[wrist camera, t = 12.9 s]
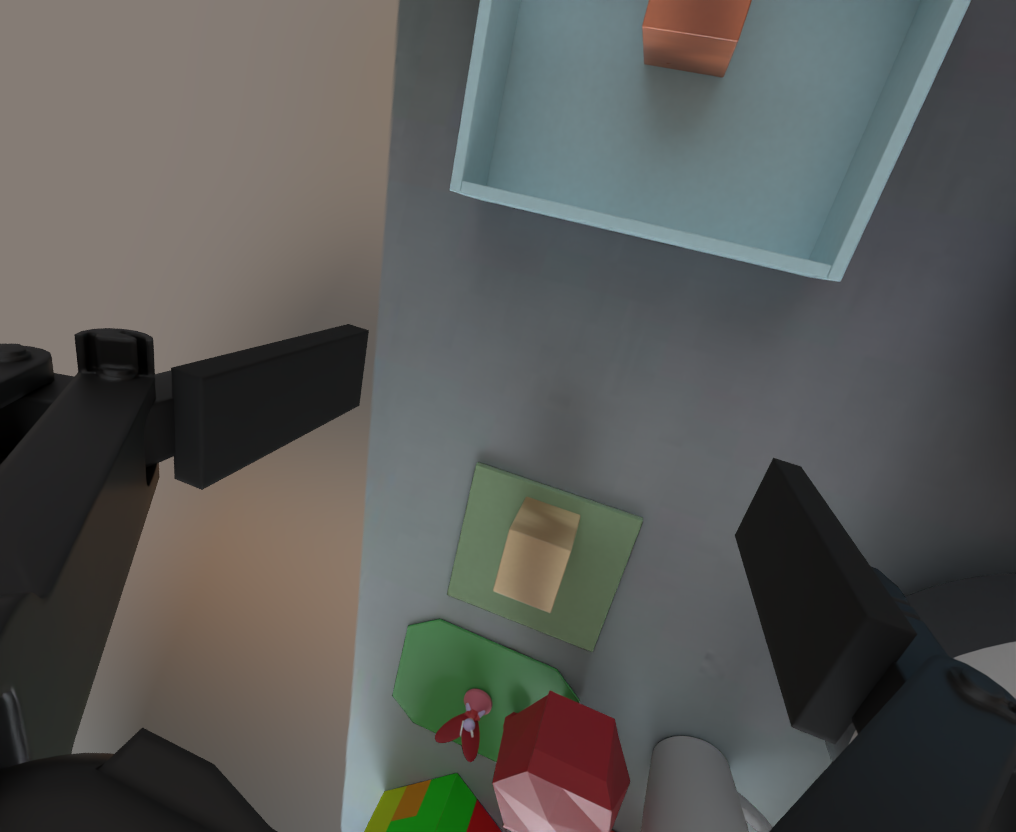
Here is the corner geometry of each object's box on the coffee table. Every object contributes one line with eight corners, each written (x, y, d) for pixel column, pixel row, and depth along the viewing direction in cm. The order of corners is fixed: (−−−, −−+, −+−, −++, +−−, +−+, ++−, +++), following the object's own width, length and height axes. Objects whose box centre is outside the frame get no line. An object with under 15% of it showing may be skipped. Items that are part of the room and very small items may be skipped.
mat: (449, 591, 39) (446, 594, 39) (478, 461, 35) (475, 464, 34) (593, 647, 37) (592, 652, 37) (643, 517, 33) (643, 521, 32)
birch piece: (510, 552, 36) (492, 591, 32) (526, 495, 34) (509, 528, 30) (562, 572, 35) (550, 614, 31) (581, 514, 33) (571, 551, 29)
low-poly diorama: (595, 806, 42) (581, 939, 34) (389, 708, 46) (332, 808, 37) (656, 687, 37) (657, 812, 29) (417, 586, 40) (357, 672, 32)
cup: (656, 708, 37) (657, 828, 30) (793, 762, 35) (833, 905, 28) (627, 773, 40) (621, 898, 32) (753, 825, 38) (779, 972, 30)
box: (477, 199, 29) (448, 190, 25) (532, -106, 24) (508, -179, 20) (810, 277, 26) (840, 282, 22) (958, -58, 21) (1034, -135, 17)
